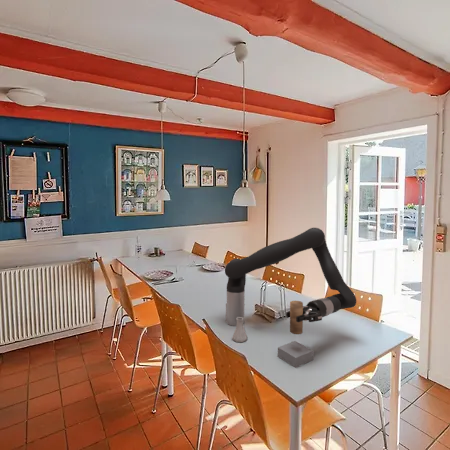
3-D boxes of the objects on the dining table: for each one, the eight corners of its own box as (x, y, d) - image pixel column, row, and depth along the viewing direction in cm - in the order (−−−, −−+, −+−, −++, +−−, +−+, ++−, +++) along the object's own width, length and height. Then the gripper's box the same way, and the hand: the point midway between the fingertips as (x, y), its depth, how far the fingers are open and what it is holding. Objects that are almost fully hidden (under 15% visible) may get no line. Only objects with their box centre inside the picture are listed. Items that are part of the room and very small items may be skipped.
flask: (228, 340, 143) (228, 319, 142) (237, 334, 149) (237, 314, 148) (242, 344, 139) (242, 322, 138) (250, 338, 145) (250, 317, 144)
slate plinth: (277, 356, 129) (277, 347, 129) (294, 349, 135) (295, 340, 134) (295, 367, 121) (295, 357, 120) (313, 360, 126) (313, 350, 126)
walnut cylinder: (287, 330, 127) (287, 302, 126) (296, 327, 130) (296, 299, 129) (296, 335, 123) (296, 306, 122) (305, 332, 126) (305, 303, 125)
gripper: (307, 295, 139) (279, 302, 130) (334, 304, 127) (305, 313, 118) (307, 311, 140) (279, 320, 131) (334, 322, 128) (305, 333, 119)
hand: (291, 317), depth 124 cm, fingers closed on walnut cylinder, 5 cm apart
